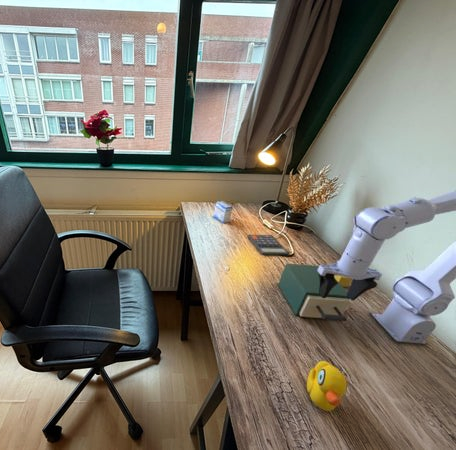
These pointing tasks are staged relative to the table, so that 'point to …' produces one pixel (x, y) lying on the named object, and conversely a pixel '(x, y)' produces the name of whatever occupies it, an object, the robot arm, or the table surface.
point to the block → (343, 280)
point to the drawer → (324, 307)
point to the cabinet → (304, 285)
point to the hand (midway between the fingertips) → (335, 296)
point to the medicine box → (223, 211)
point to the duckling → (326, 385)
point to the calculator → (268, 245)
